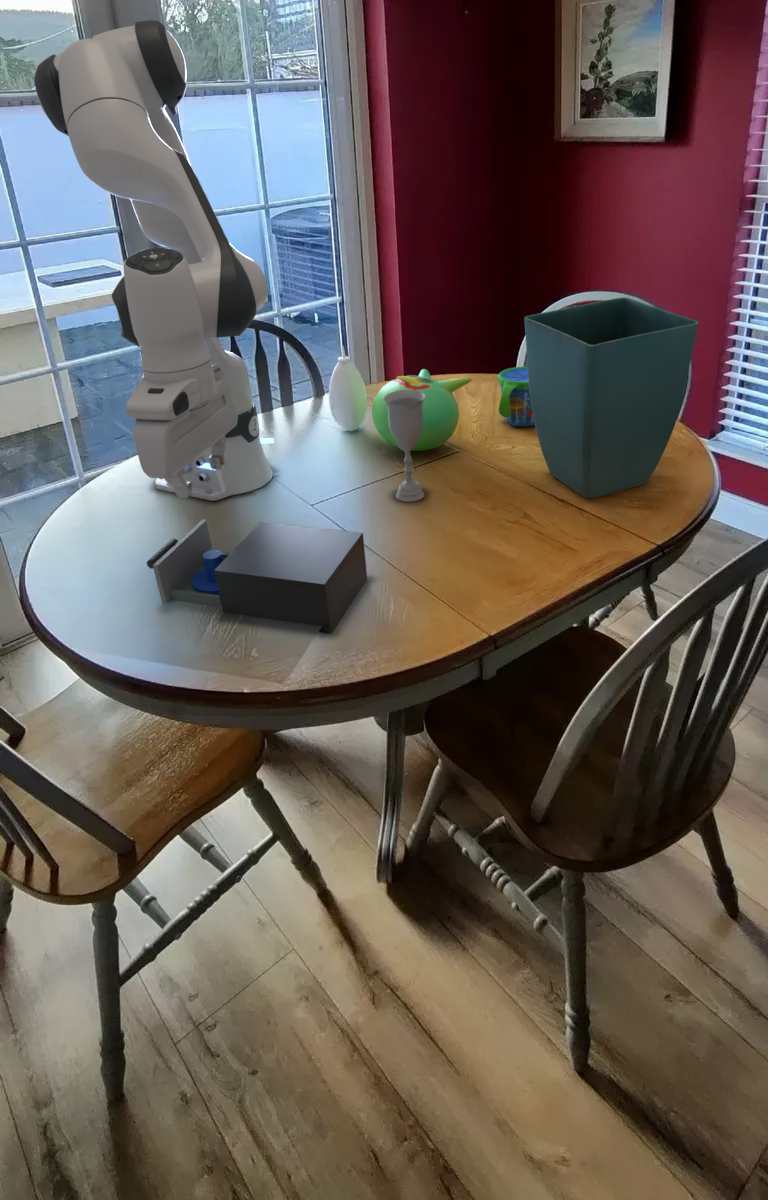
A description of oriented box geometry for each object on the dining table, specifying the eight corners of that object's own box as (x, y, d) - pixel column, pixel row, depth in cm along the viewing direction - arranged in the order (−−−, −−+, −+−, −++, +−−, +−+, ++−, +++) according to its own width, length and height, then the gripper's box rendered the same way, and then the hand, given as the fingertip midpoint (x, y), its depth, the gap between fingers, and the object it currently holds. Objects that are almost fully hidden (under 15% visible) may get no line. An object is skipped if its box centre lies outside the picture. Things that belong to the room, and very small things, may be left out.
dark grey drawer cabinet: (223, 618, 118) (213, 570, 114) (268, 567, 129) (260, 521, 125) (331, 634, 113) (324, 584, 108) (367, 579, 124) (363, 532, 120)
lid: (183, 591, 123) (176, 564, 120) (208, 566, 129) (202, 539, 126) (228, 598, 120) (222, 569, 118) (252, 571, 126) (247, 544, 124)
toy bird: (359, 444, 169) (353, 373, 161) (425, 422, 176) (421, 354, 168) (412, 471, 156) (408, 395, 148) (480, 446, 164) (480, 373, 156)
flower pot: (578, 515, 137) (590, 343, 121) (518, 472, 152) (522, 315, 137) (679, 489, 142) (702, 321, 127) (611, 449, 158) (624, 296, 143)
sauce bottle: (347, 420, 181) (339, 337, 171) (376, 426, 177) (369, 341, 167) (325, 432, 175) (315, 347, 166) (354, 438, 171) (346, 352, 162)
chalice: (425, 504, 144) (421, 405, 134) (387, 503, 145) (380, 404, 135) (431, 486, 150) (428, 389, 140) (395, 485, 151) (388, 389, 141)
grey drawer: (140, 602, 122) (129, 562, 118) (188, 555, 133) (180, 517, 129) (264, 620, 116) (257, 578, 112) (305, 569, 127) (299, 529, 123)
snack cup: (526, 405, 181) (527, 359, 175) (566, 415, 174) (569, 368, 169) (479, 427, 172) (479, 379, 166) (520, 439, 165) (521, 389, 160)
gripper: (199, 359, 117) (217, 450, 125) (117, 410, 101) (143, 511, 109) (239, 360, 115) (255, 453, 123) (161, 412, 99) (185, 515, 107)
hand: (202, 481), depth 116 cm, fingers open, 8 cm apart
